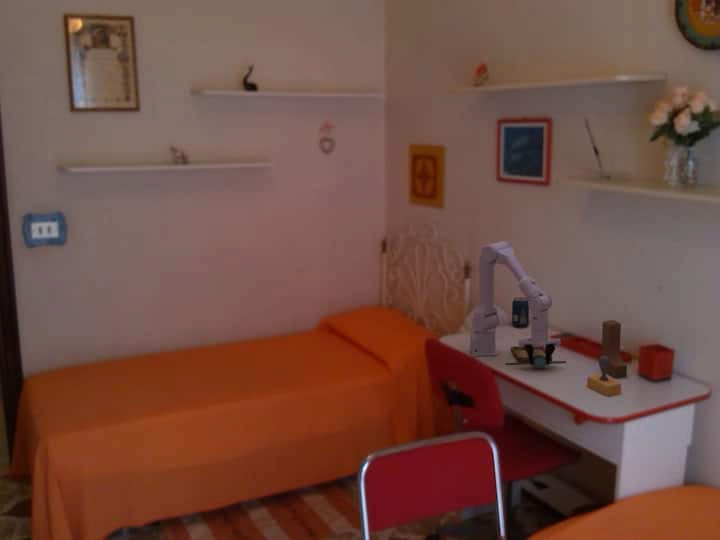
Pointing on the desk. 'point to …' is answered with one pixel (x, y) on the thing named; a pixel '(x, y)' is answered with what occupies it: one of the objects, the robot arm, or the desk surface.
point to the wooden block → (613, 348)
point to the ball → (539, 361)
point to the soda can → (520, 312)
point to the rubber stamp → (604, 380)
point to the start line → (529, 363)
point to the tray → (522, 354)
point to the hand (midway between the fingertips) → (539, 364)
